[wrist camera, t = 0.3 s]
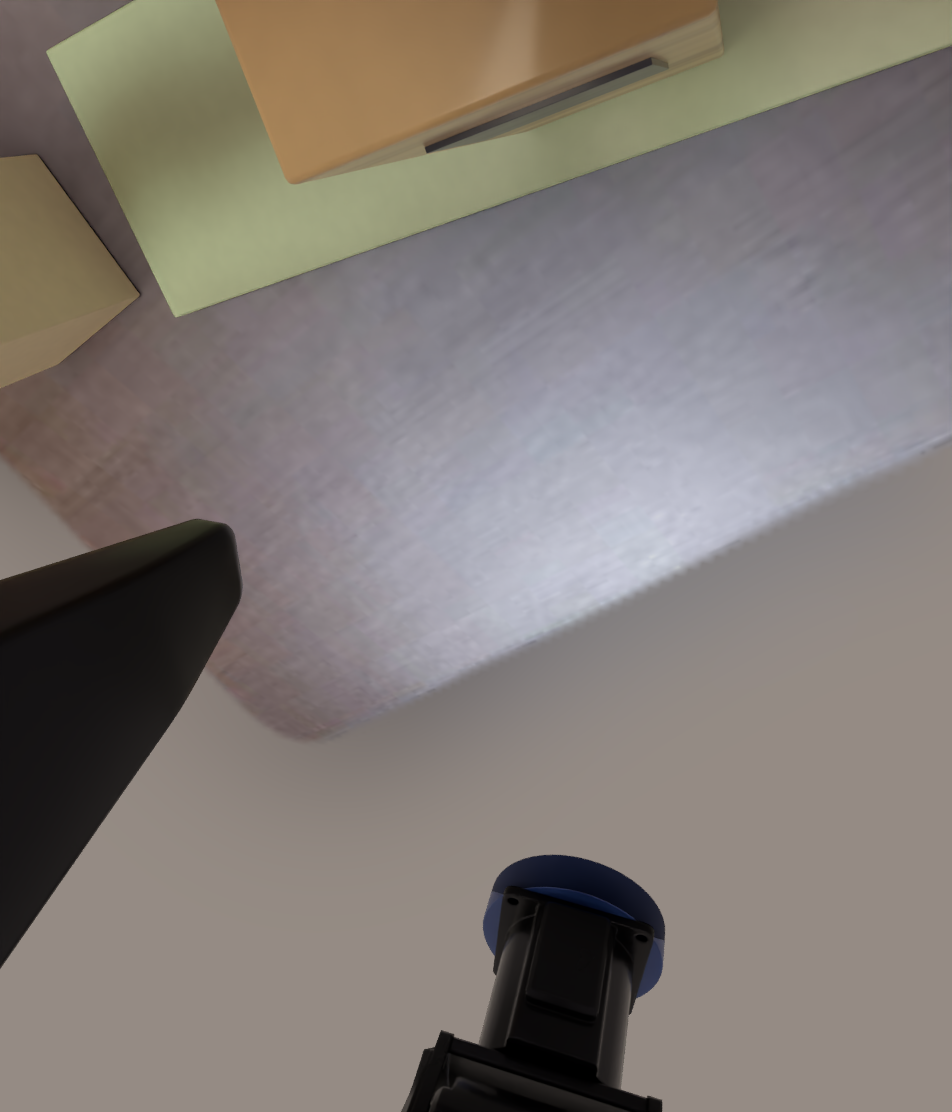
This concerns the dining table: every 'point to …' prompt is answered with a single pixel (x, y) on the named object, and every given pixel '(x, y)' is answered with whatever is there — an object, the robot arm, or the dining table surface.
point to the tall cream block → (49, 273)
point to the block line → (421, 109)
